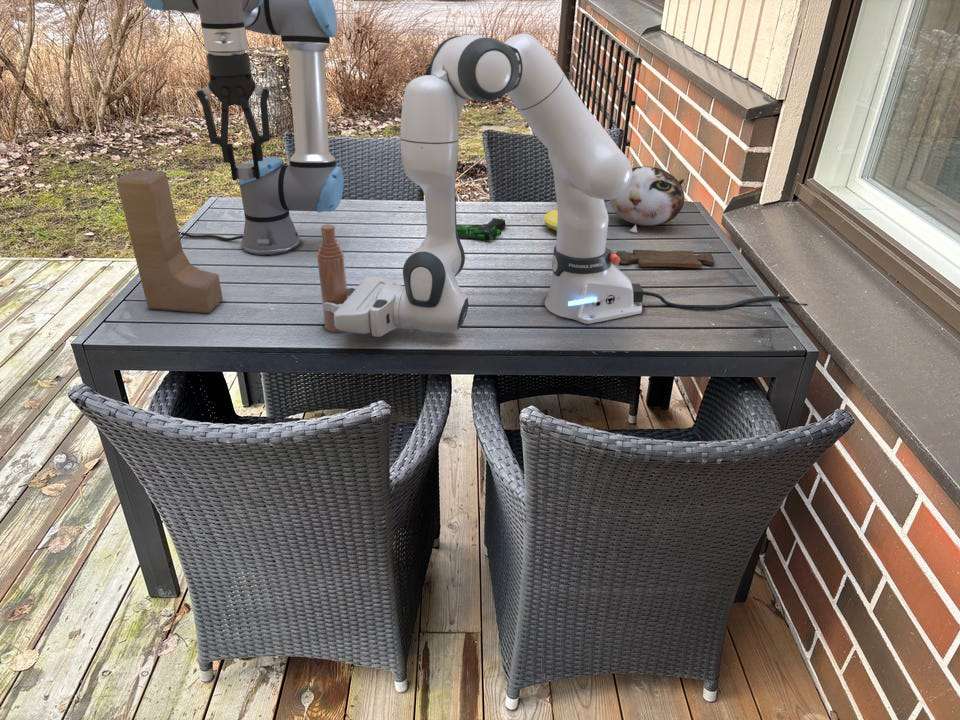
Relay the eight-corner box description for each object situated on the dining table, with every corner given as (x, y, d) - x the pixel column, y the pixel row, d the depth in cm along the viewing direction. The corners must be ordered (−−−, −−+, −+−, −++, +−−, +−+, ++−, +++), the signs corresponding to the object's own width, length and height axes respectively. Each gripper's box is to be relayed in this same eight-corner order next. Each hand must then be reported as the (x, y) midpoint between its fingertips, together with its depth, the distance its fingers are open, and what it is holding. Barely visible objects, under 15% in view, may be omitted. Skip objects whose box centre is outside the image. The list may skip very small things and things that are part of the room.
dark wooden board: (718, 270, 186) (709, 256, 195) (719, 264, 186) (710, 250, 194) (619, 267, 187) (614, 252, 195) (620, 261, 186) (615, 247, 194)
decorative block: (209, 314, 161) (183, 183, 145) (146, 309, 162) (114, 179, 147) (224, 300, 167) (200, 172, 152) (163, 295, 169) (134, 168, 153)
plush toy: (590, 213, 207) (612, 150, 209) (606, 237, 223) (627, 178, 224) (664, 227, 196) (687, 160, 198) (675, 250, 212) (697, 189, 214)
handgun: (511, 219, 210) (493, 234, 198) (511, 228, 211) (492, 244, 199) (461, 212, 215) (440, 226, 203) (461, 221, 217) (440, 236, 204)
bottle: (344, 318, 160) (335, 220, 149) (354, 328, 156) (345, 228, 145) (321, 324, 158) (310, 224, 146) (330, 334, 154) (319, 233, 142)
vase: (559, 216, 220) (561, 193, 217) (605, 227, 212) (608, 204, 209) (532, 230, 209) (533, 207, 206) (580, 242, 201) (582, 218, 198)
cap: (232, 177, 143) (230, 166, 142) (248, 173, 146) (246, 162, 145) (244, 181, 141) (242, 169, 140) (260, 176, 144) (259, 165, 143)
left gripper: (176, 56, 127) (200, 185, 139) (273, 54, 131) (289, 180, 143) (181, 50, 133) (204, 174, 145) (274, 48, 137) (289, 170, 149)
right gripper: (406, 272, 158) (348, 266, 161) (374, 313, 141) (309, 305, 144) (407, 298, 162) (350, 291, 164) (376, 341, 144) (312, 333, 147)
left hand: (246, 177), depth 144 cm, fingers closed on cap, 4 cm apart
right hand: (330, 298), depth 154 cm, fingers closed on bottle, 5 cm apart
